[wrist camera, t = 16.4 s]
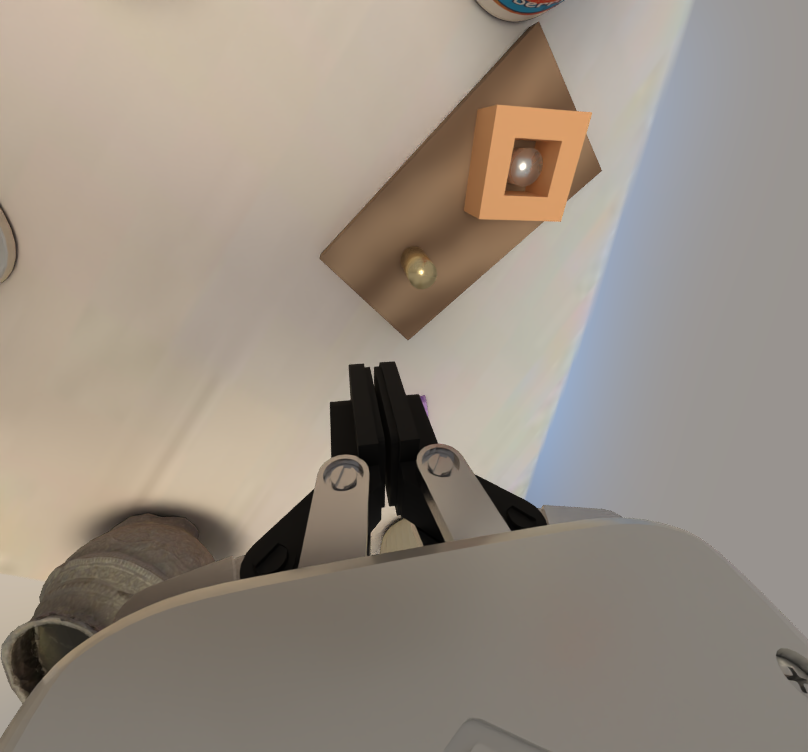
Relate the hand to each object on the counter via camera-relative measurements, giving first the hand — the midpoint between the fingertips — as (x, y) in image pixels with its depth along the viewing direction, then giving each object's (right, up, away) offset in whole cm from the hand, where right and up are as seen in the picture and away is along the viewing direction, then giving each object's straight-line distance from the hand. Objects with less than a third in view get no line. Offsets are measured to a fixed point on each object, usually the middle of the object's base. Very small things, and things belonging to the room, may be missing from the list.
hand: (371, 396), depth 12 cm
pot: (-35, -23, +38) cm, 57 cm away
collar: (+10, +18, +16) cm, 26 cm away
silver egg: (+10, +18, +16) cm, 26 cm away
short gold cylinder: (+2, +12, +19) cm, 22 cm away
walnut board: (+6, +16, +18) cm, 25 cm away
